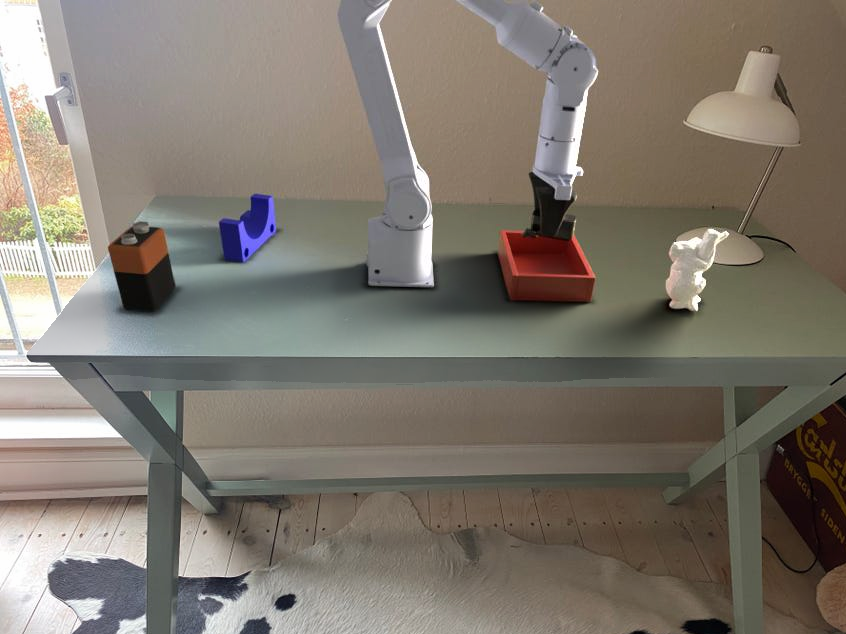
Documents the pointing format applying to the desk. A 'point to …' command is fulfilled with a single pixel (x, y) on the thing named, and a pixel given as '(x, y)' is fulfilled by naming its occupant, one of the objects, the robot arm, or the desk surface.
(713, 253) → the koala figurine
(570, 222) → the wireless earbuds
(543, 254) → the red open box
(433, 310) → the desk surface
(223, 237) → the blue pipe saddle mount
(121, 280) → the battery
